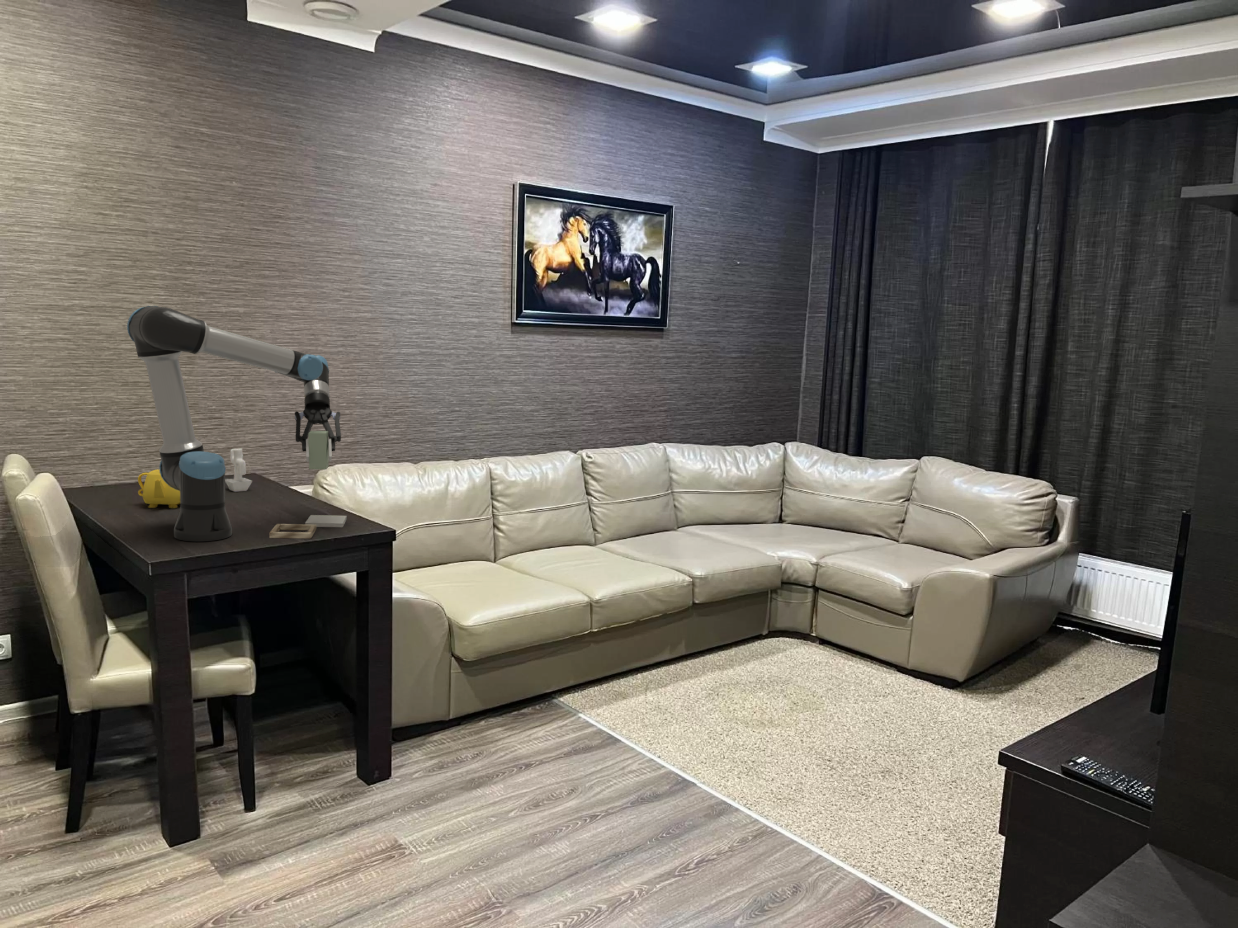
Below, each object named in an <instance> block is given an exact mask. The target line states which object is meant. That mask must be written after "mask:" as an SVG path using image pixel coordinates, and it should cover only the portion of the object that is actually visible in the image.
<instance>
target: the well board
mask: <svg viewBox="0 0 1238 928" xmlns="http://www.w3.org/2000/svg"><path fill="white" fill-rule="evenodd" d="M291 531H292V532H291ZM295 531H296V532H295ZM301 531H303V532H301ZM304 531H305V532H304ZM316 531H317V527H316V525H312V524H302V523H301V524H299V523H298V524H297V523H276V524H275V525H274V527H273V528H272V529H271V530H270V532H269V533H268V535H269V539H312V537H313V536H314V534H315V532H316Z"/></svg>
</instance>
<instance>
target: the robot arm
mask: <svg viewBox="0 0 1238 928" xmlns="http://www.w3.org/2000/svg"><path fill="white" fill-rule="evenodd" d="M126 328H127V329H126V330H127V333H128V335H129V337H130V339H131V341H132V342H133V343H134V345H135V350H136V355H137V358H139V360H141V361H143V362H144V363H145V366H146V372H147V376H148V381H149V384H150V389H151V393H152V398H153V403H154V407H155V411H156V415H157V417H156V418H157V421H158V425H159V429H160V433H161V437H162V445H161V446H160V448H159V450H158V451H159V456H160V459H161V460H160V461H159V467H158V470H160V475H161V477H162V479H163V480H164V481H165V482H166V483H167V484H168V485H169V486H170V487H172V488H174V489H176V490H179V491H180V504H179V506H180V507H179V509H180V511H179V512H178V516H177V519H176V522H175V524H174V528H173V538H175V539H176V540H180V541H185V542H210V541H219V540H223V539H227V538H229V537H231V536H232V535H233V528H232V523H231V521H230V518H229V515H228V513H227V509H226V482H225V479H226V465H225V464H226V463H225V459H224V457H222V456H221V455H220V454H219V453H218V454H217V453H214V452H209V451H205V450H204V445H203V442H202V441H200V440H199V439H198V438H196V433H195V429H194V426H193V421H192V415H191V411H190V407H189V403H188V396H187V393H186V392H187V391H186V388H185V384H184V382H185V381H184V379H183V374H182V369H181V365H180V360H179V358H180V356H181V355H182V354H183V352H185V353H189V354H193V355H197V354H199V353H204V354H207V355H211V356H216V357H218V358H222V359H227V360H231V361H234V362H237V363H242V364H246V365H249V366H253V367H257V368H259V369H260V368H261V369H265V370H269V371H271V372H274V373H277V374H280V375H283V376H285V377H289V378H291V379H294V380H295V381H299V382H302V383H303V388H304V389H303V391H304V392H303V395H304V409H303V411H301V412H299V411H297V410H296V411H294V420H295V422H296V423H295V442H296V443H301V451H302V452H305V458H306V462H307V463H309V439H308V433H309V432H310V431H312V428H313V425H317V424H318V425H322V426H323V428H324V431H328V454H329V463H332V460H333V455H332V454H333V453H332V452H335V451H336V443H337V442H338V443H341V441H342V433H341V423H340V422H341V421H340V420H341V412H340V411H337V412H334V411H332V409H331V402H330V401H331V400H330V397H331V396H330V377H329V376H330V375H329V374H330V369H329V364H328V363H329V362H328V360H327V359H326V358H325V357H324V356H322V355H320V354H311V353H309V354H307V353H303V352H300V351H298V350H297V351H296V350H294V349H290V348H287V347H284V346H280V345H276V344H273V343H269V342H266V341H262V340H258V339H255V338H251V337H247V336H245V335H241V334H239V333H238V334H237V333H234V332H230V331H228V330H223V329H220V328H217V327H214V326H209V325H208V324H207V322H206V320H203V319H199V318H196V317H192V316H190V315H188V314H186V313H183V312H180V311H178V310H176V309H173V308H170V307H167V306H165V307H164V306H159V305H158V306H157V305H147V306H143V307H140V308H137V309H136V310H135V311H133V312H132V313H131V314H130V316H129V318H128V320H127V323H126ZM303 417H304V418H305V419H306V421H307V422H306V426H305V428H304V430H303V433H302V435H301V425H302V424H301V423H302V420H303ZM331 417H332V420H333V421H334V427H335V434H334V431H333V430H332V427H331V425H330V423H329V422H330V421H329V419H331Z"/></svg>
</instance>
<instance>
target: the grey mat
mask: <svg viewBox="0 0 1238 928" xmlns="http://www.w3.org/2000/svg"><path fill="white" fill-rule="evenodd" d="M347 517H348V516H347V515H333V514H332V515H329V514H328V515H325V514H324V515H322V514H321V515H319V514H317V515H316V514H310V516H309V517H308V519H306V521H305V522H304V523H305V524H312V525H316V528H343V527H344V525H345V523H346V521H347Z"/></svg>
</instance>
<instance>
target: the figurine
mask: <svg viewBox="0 0 1238 928" xmlns="http://www.w3.org/2000/svg"><path fill="white" fill-rule="evenodd" d="M229 455H230V456H229V458H230V463H231V464H232V465H233V478H225V485H227V488H228V489H229V491H232V492H235V493H236V492H247V491H248V489H249V488H250V486H251V484H252V483H253V480H251V479H248V478H246V477H243V476H244V475H246V473H247V464H246V463H247V462H246V461H245V459H243V457H244V453H243V448H241V447H240V448H232V449H230V454H229Z"/></svg>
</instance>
